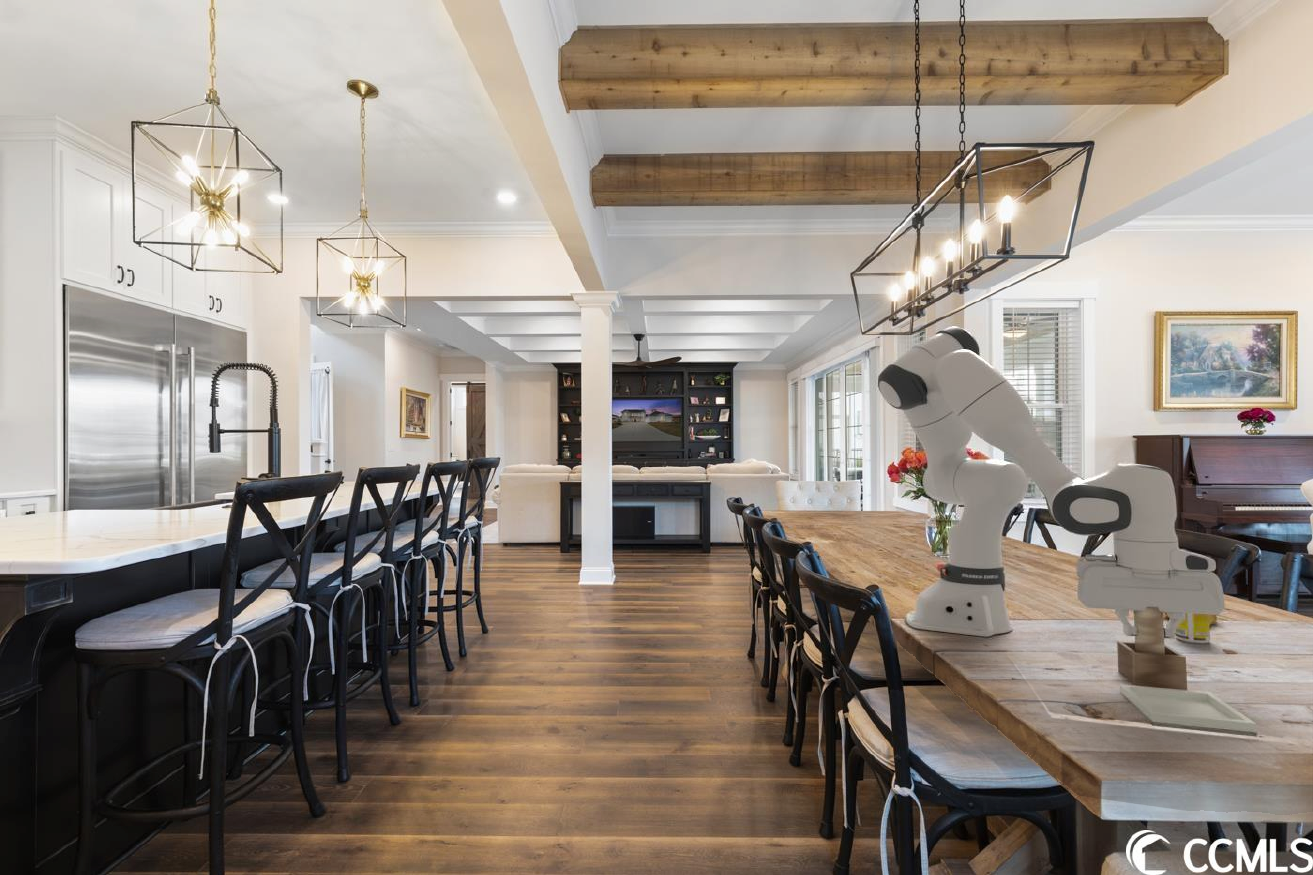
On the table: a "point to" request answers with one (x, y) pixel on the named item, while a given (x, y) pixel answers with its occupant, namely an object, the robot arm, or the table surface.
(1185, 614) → the supplement bottle
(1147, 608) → the dowel
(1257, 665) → the table surface
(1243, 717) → the tray
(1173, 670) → the open wooden box
